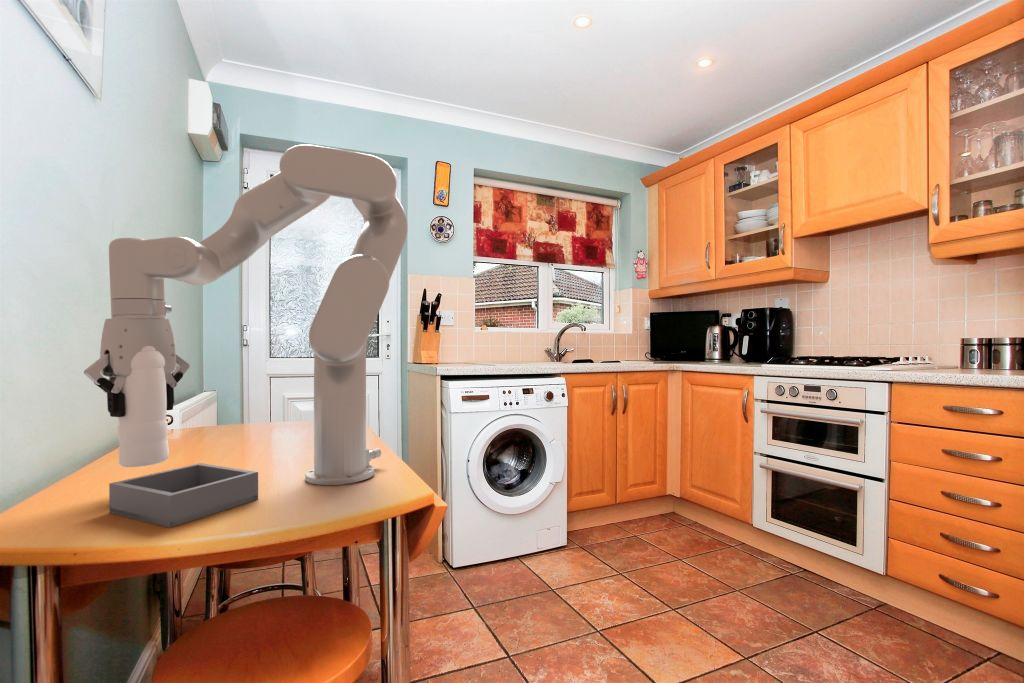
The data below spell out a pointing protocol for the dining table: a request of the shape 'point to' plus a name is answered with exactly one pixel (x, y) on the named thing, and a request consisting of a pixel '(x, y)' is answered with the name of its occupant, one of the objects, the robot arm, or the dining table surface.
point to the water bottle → (144, 412)
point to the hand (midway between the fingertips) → (142, 412)
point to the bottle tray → (182, 494)
